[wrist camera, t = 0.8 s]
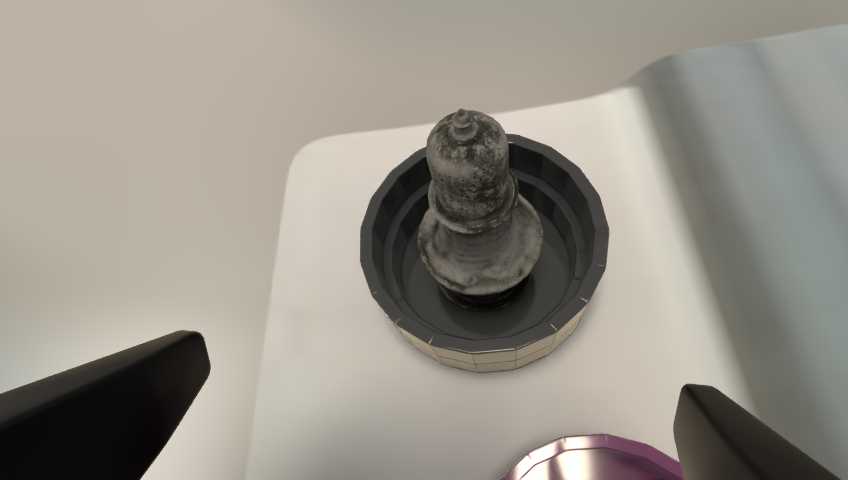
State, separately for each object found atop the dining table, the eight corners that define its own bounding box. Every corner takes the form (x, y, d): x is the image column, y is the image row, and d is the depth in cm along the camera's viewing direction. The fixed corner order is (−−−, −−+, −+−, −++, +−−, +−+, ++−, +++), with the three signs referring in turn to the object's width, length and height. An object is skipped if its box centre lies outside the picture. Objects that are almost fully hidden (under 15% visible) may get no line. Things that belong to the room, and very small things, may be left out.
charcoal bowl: (579, 397, 20) (595, 382, 16) (358, 345, 23) (327, 322, 19) (600, 193, 25) (617, 142, 21) (412, 171, 28) (396, 123, 24)
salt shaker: (445, 332, 23) (388, 220, 12) (418, 235, 25) (351, 74, 15) (556, 298, 22) (598, 154, 12) (516, 204, 25) (521, 19, 14)
